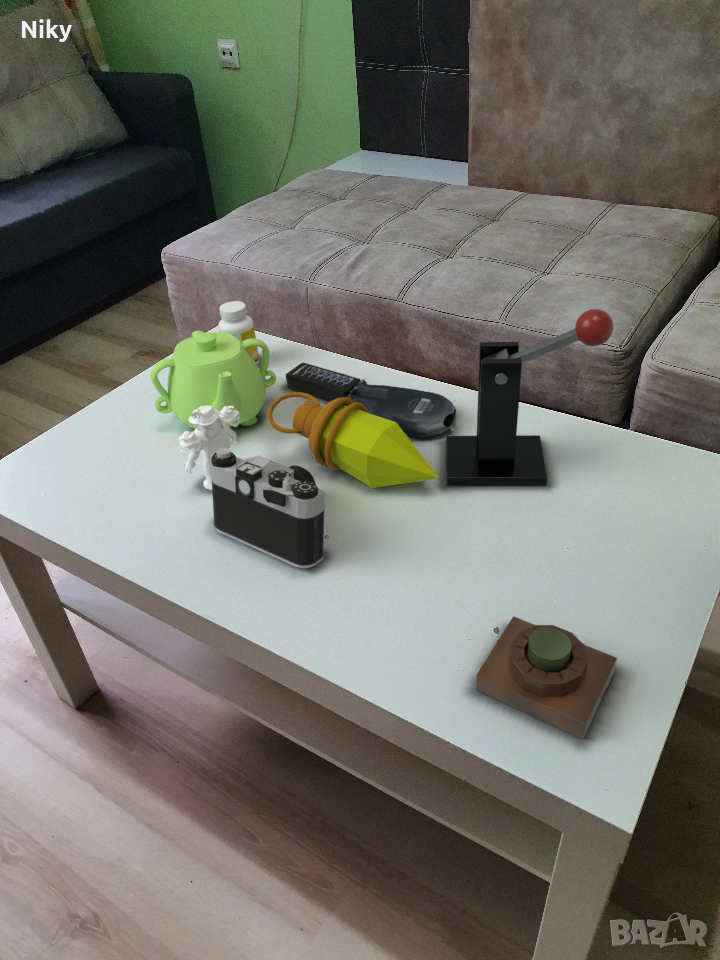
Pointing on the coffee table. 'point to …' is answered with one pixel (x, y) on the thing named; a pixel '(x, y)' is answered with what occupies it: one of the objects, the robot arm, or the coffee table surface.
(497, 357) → the lever
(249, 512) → the camera
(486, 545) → the coffee table surface
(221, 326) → the supplement bottle
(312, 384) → the multiport hub
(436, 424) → the electronic device
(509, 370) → the bracket
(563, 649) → the button
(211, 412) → the flower shoulder figurine
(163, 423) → the coffee table surface
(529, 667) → the button block
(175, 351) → the teapot
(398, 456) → the plumb bob
